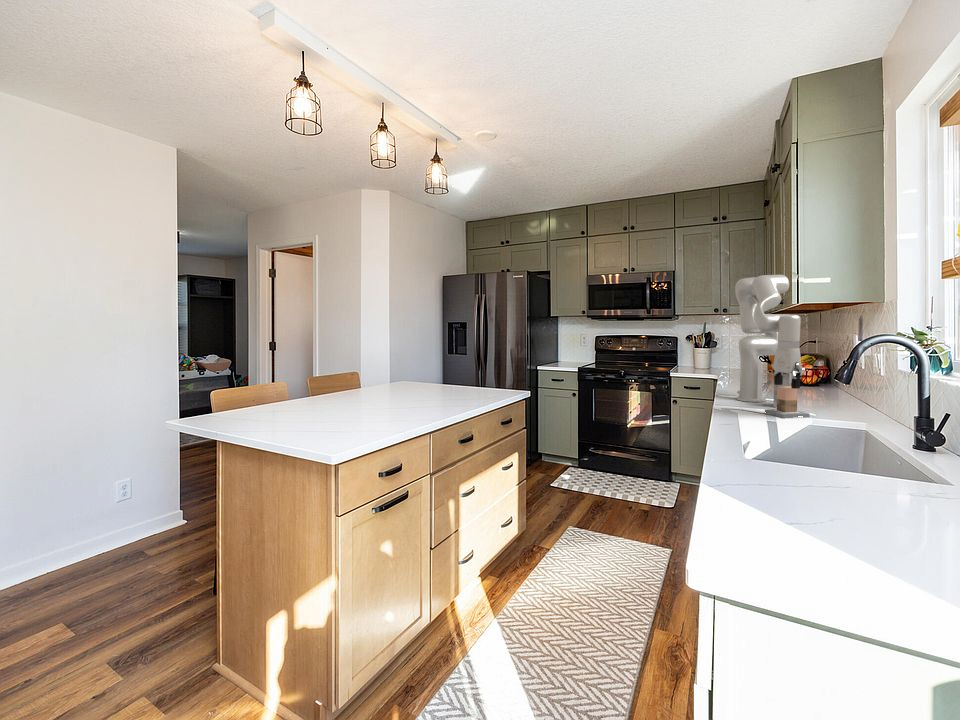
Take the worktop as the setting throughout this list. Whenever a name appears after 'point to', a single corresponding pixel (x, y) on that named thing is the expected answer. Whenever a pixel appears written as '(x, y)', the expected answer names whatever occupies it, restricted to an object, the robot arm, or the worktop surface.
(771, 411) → the slate blueprint mat
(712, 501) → the worktop surface
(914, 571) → the worktop surface
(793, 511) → the worktop surface
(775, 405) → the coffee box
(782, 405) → the walnut block
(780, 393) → the terracotta block
